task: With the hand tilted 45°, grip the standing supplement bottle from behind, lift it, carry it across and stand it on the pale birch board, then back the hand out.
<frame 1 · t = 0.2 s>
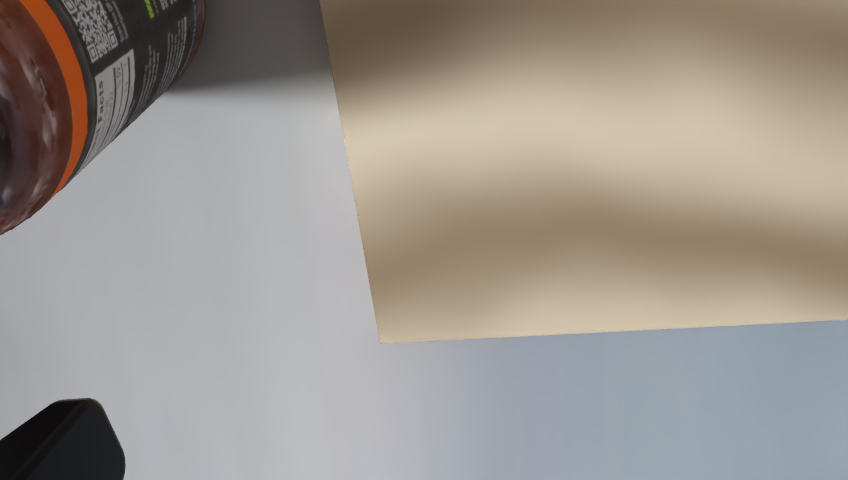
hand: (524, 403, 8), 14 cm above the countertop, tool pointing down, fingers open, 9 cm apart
birch board: (605, 16, 20), on the countertop
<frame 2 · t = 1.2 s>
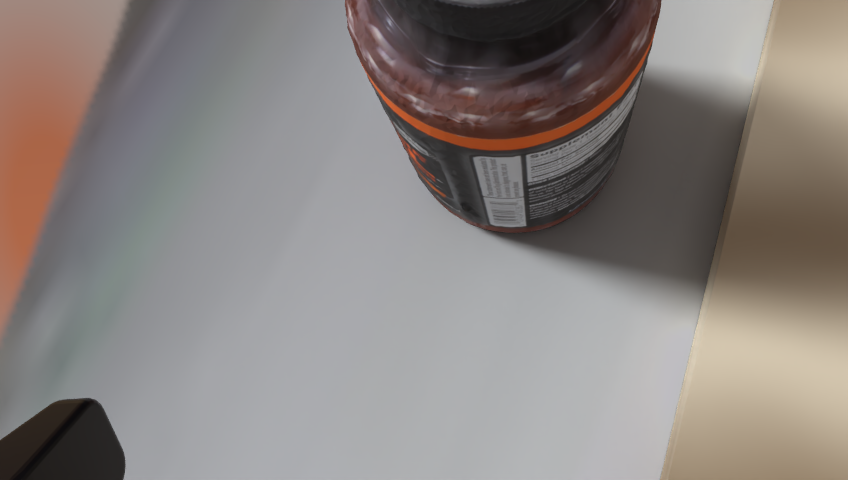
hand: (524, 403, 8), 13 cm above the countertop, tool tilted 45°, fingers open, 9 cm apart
supplement bottle: (515, 141, 23), on the countertop
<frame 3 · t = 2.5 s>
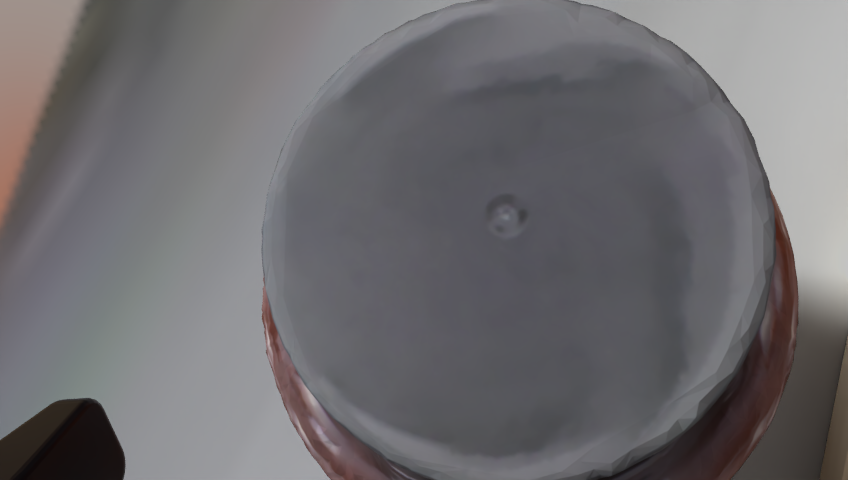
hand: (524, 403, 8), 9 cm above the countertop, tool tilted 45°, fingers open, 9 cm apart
supplement bottle: (530, 356, 17), on the countertop
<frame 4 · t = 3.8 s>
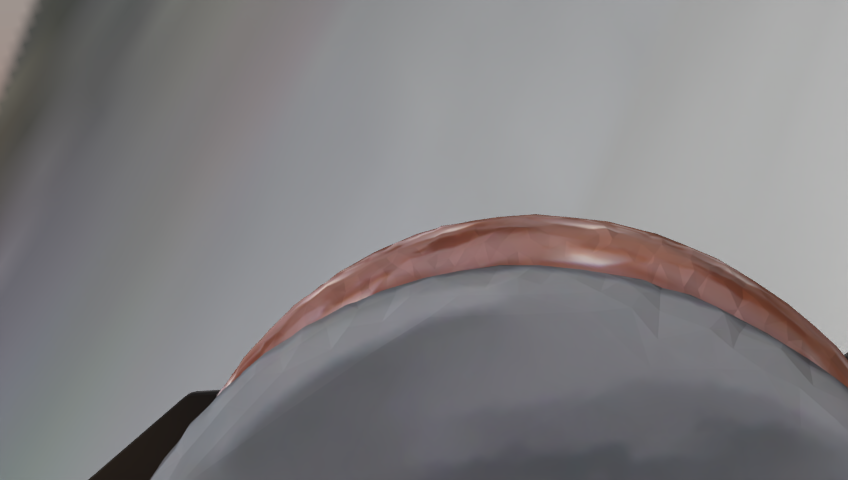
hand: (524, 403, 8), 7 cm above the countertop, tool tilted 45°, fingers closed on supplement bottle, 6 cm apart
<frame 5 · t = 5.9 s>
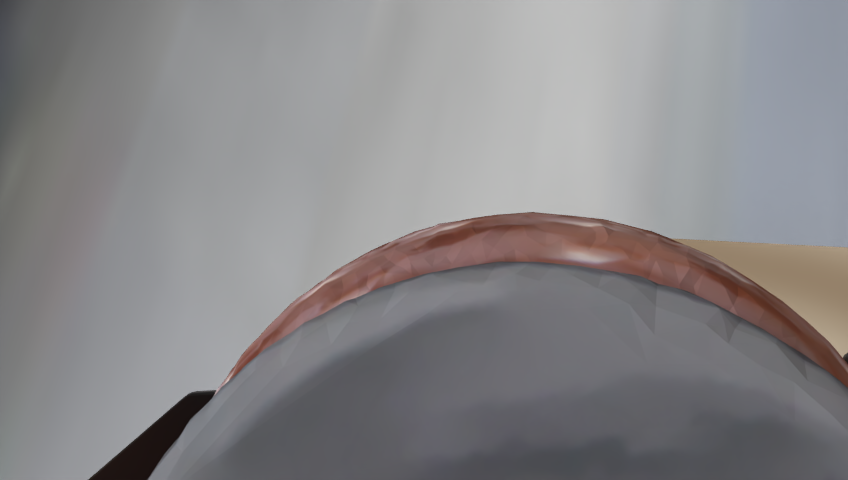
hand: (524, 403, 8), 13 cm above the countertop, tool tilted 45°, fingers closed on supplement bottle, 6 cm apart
when the fingers open (9 cm above the countertop, at t = 8.0 s): supplement bottle stays where it is, resting on birch board.
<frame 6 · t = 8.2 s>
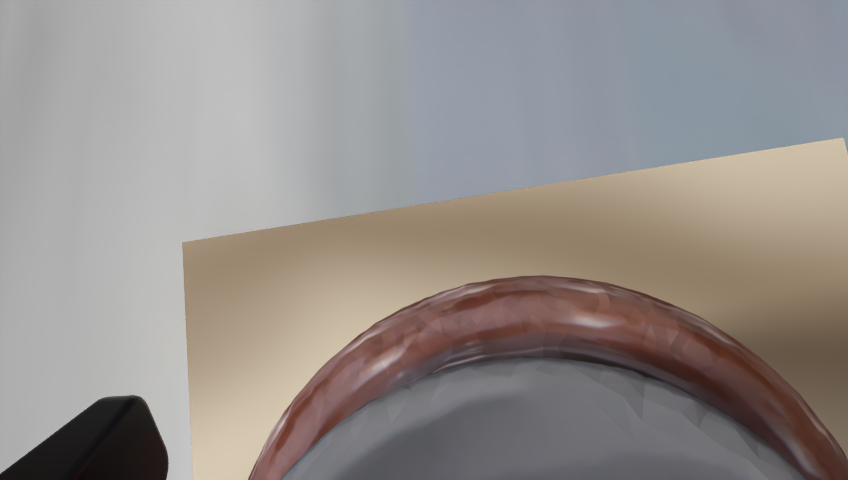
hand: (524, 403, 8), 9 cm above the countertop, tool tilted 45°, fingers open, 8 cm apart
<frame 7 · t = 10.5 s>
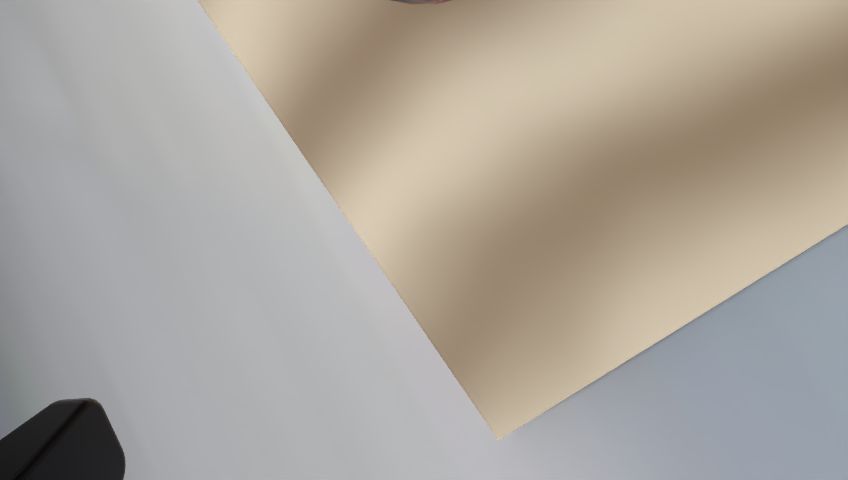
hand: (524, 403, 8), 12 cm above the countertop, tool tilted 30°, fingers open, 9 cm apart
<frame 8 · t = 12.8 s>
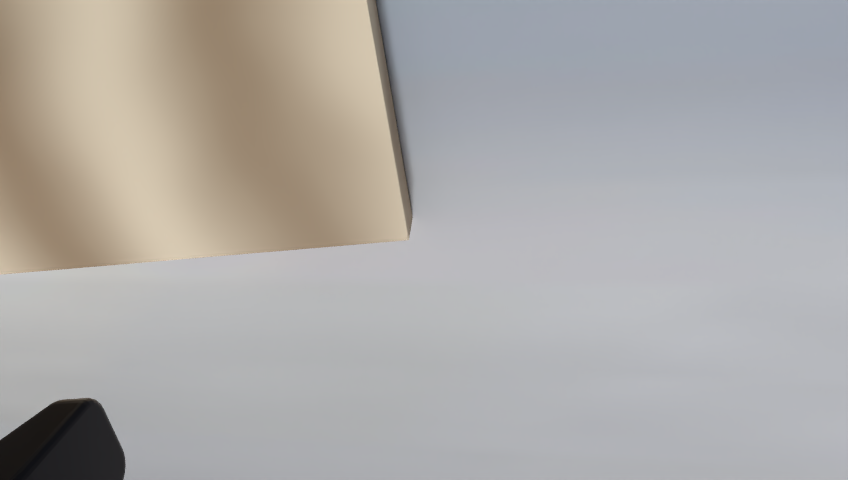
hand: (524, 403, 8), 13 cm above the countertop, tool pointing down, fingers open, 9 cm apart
birch board: (13, 5, 20), on the countertop
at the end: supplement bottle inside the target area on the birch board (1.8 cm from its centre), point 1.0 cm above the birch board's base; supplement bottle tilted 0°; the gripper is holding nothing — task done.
